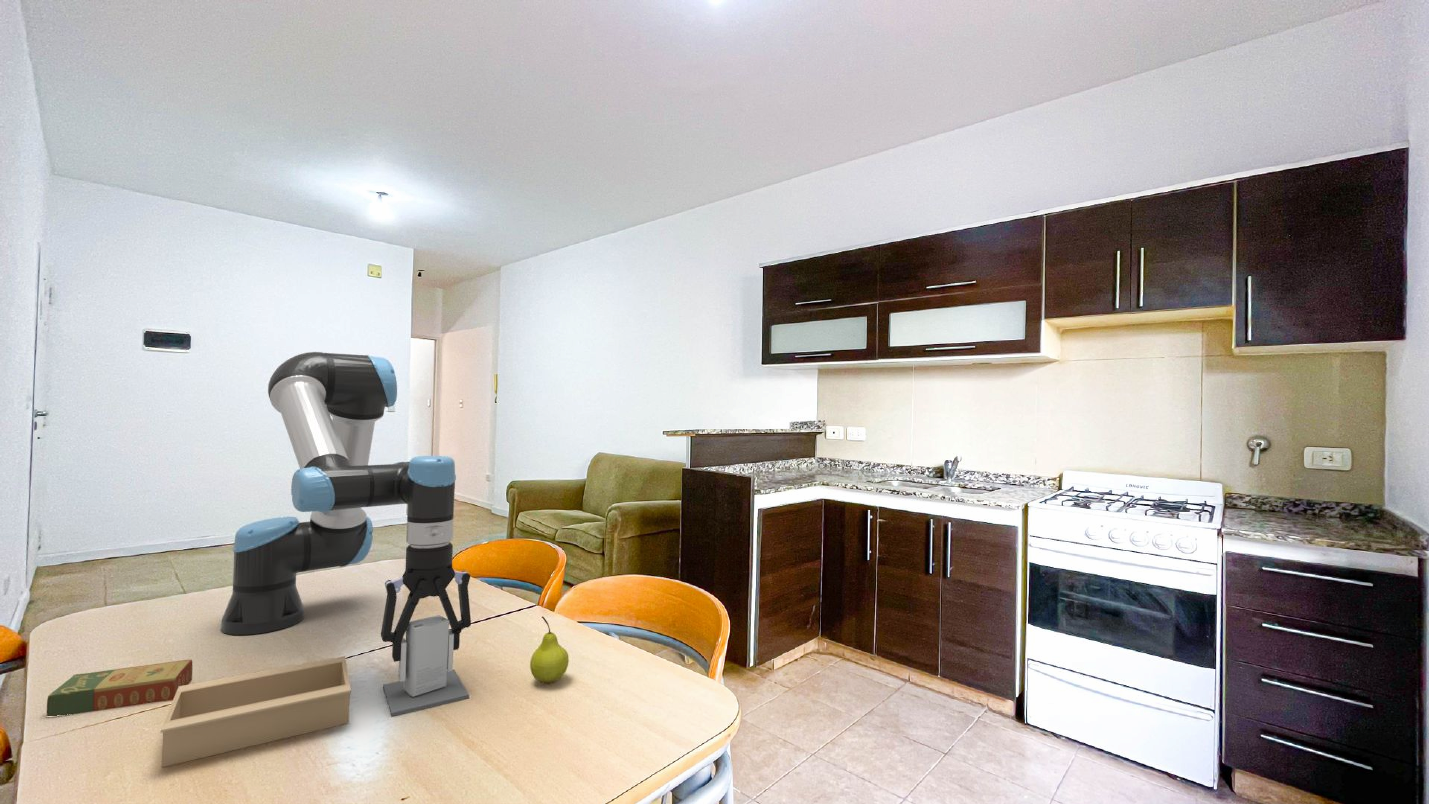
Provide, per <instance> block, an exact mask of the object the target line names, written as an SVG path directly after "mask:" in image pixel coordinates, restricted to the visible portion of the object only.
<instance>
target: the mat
mask: <svg viewBox="0 0 1429 804" xmlns="http://www.w3.org/2000/svg"><path fill="white" fill-rule="evenodd" d="M403 685H404V681H402V682H400V680H397V681H392V682H388V683H384V684H382V688H383V692H384V696H385V699H386V703H387V706H388V710H389V713H390V716H391V718H393V717H396V716H400V715H404V714H409V713H414V712H417V711H422V710H425V709H429V708H434V707H437V706H443V705H446V704H449V703H450V704H451V703H454V702H458V701H462V700H466V699H470V694H469V692H468V690H467V688H466V687H465V685H464V683H463V681H462V680H461V678H460V676H459V675H458V674H457V672H456V670H455V669H454V668H453V671H449V672H448V670H447V680H446V686H445V687H442V688H439V689H436V690H433V691H430V692H427V693H423V694H420V695H417V696H414V697H412V696H411V695H409V694H408V693H407V692H406V691H405V690H404V688H403Z"/></svg>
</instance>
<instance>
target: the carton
mask: <svg viewBox="0 0 1429 804" xmlns="http://www.w3.org/2000/svg"><path fill="white" fill-rule="evenodd" d="M192 680H193V660H192V659H184V660H183V659H182V660H176V661H167V662H162V663H152V664H145V665H138V666H132V667H131V666H130V667H124V668H115V669H107V670H101V671H92V672H86V673H85V672H84V673H76V674H73V675H72V676H71V677H70V678H69V679H67V680H66V681H65V682H63V684H61V685H60V686H59V687H58V688H56V689H55V690H53V691H52V692H51V693H50V694H48V695H47V699H46V717H47V716H57V715H65V716H70V715H69V714H72V715H78V714H83V713H92V712H98V711H99V712H100V711H105V710H111V709H118V708H127V707H134V706H140V705H146V704H153V703H159V702H160V703H161V702H166V701H167V702H168V701H173V699H174V697H175V694H176V692H177V689H178V687H179V686H184V685H189V684H191V682H192ZM67 714H68V715H67Z"/></svg>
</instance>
